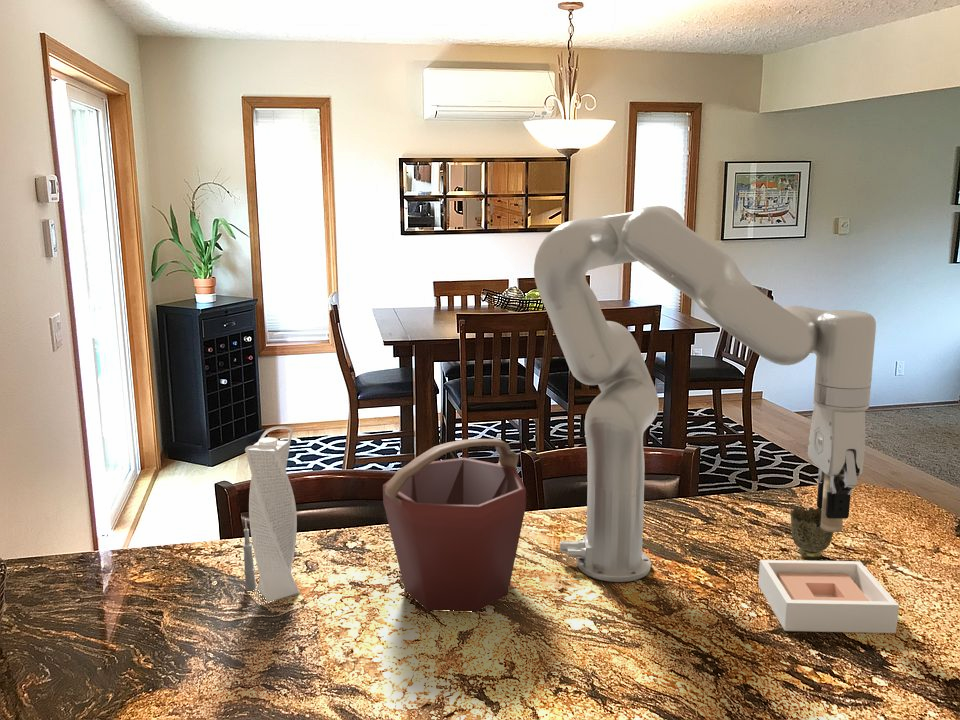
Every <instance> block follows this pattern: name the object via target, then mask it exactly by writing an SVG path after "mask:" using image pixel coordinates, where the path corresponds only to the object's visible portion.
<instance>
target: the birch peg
mask: <svg viewBox="0 0 960 720" xmlns="http://www.w3.org/2000/svg"><path fill="white" fill-rule="evenodd" d="M840 472H844V470H841V471H840ZM830 477H831V476H828V475H826V474H824V487H823V500H822V513H821V526H820V527H821V529H823V530H825V531H828V532H833V533H840V532H842V531H843V530H842V529H843V520H844V519H829V518H827V517H826V502H827V492H830ZM843 479H844V478H837V483H838V481H839V480H843Z"/></svg>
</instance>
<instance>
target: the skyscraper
mask: <svg viewBox="0 0 960 720" xmlns="http://www.w3.org/2000/svg"><path fill="white" fill-rule="evenodd" d="M275 430H289V435H288V438H287V440H278V438H277V437H274V436H269V437H268V436H266V435H267V434H268V433H269V432H270V433H271V432H272V431H275ZM294 431H295V429H294V428H293V427H292V426H287V425H277V426H272V427H269V428H267V429H265V431H264V432H263V433H262V434H261V436H260V437H259V439H258V441H257V442H255V443H254V444H253V445H248V446H246V447H245V448H244V451H245V454H246V458H247V463H248V465H249V466H248V467H249V471H250V474H251V479H250V484H249V494H248V518H249V528H250V529H249V528H248V522H247V519H246V518H245V519H244V529H243V533H244V543H243V544H242V549H243V558H244V559H243V560H244V565H243V566H244V570H243V572H244V580H245V581H244V582H245V583H244V584H245V585H244V588H245V590H246V591H245V590H244V591H245V593H246V592H247V591H252V592H256V595H258V598H262V597H264V599H263V598H262V600H261V599H260V601H261V602H265V601H267V603H268V602H270V601H273V600H274V601H275V600H278V601H280V600H279V599H281V600H283V599H282V598H285V599H287V598H286V597H288V598H291V597H293V595H294V596H297V595H296V594H298V595H300V594H301V592H300V590H299V587H298V586H297V583H296V581H295V580H294V577H293V574H292V568H293V564H294V557H295V552H296V542H297V533H298V532H297V527H298V522H297V521H298V520H297V519H298V517H297V506H296V500H295V495H294V490H293V487H292V484H291V481H290V479H289V476H288V473H287V464H288V460H289V453H290V448H291V442H292V441H291V440H292V437H293V435H294ZM265 436H266V437H265ZM249 533H250V534H249ZM250 536H251V542H250ZM253 555H254V557H253ZM254 559H255V563H256V567H257V571H258V575H259V579H258V587H257V588H256V586H257V582H256V575H255V570H256V569H255V568H256V567H255V566H254ZM255 589H257V590H256V591H255ZM253 590H254V591H253ZM258 590H259V591H260V593H259V591H258ZM257 592H258V594H257ZM299 593H300V594H299ZM249 594H250V592H249ZM251 594H253V593H251ZM254 594H255V593H254ZM259 594H262V596H261V595H260V597H259ZM256 595H255V597H257V596H256ZM290 596H291V597H290ZM251 597H252V596H251ZM251 597H250V598H251ZM253 597H254V595H253ZM265 598H266V599H265ZM253 600H254V599H253ZM253 600H252V601H253ZM255 600H256V598H255ZM264 600H265V601H264ZM256 601H257V600H256ZM258 601H259V599H258ZM261 602H260V603H261ZM275 602H276V601H275ZM263 604H264V603H263ZM258 605H260V604H259V603H258ZM258 605H257V606H258ZM261 605H262V604H261ZM265 605H267V604H266V602H265ZM262 606H263V605H262Z"/></svg>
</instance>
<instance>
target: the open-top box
mask: <svg viewBox="0 0 960 720" xmlns="http://www.w3.org/2000/svg"><path fill="white" fill-rule="evenodd" d="M778 573H818V574H848V575H849V577H850V578H851V579H852V580H853V581H854V583H855V584H856V585H857V586H858V588H859V589H860V590H861V591H862V592H863V594H864V595H865V596H866V597H867V598H868V600H869V601H834V600H791V598H790V596H789V595H788V593H787V592H786V590H785V589H784V587H783V586H782V584H781V582H780V581H779V579H778V578H777V576H778ZM757 585H758V587H759V589H760V591H761V592H762V594H763V597H764V598H765V599H766V601H767V602H768V605H769V607H770V608H771V609H772V612H773V614H774V615H775V617H776V618H777V620H778V622H779V624H780V626H781V627H782V629H783V630H784V631H785V632H820V633H821V632H823V633H824V632H825V633H833V632H834V633H865V634H866V633H868V634H869V633H874V634H897V628H898V627H897V626H898V619H899V610H900V609H899V608H900V605H899V603H898V602H897V601H896V600H895V599H894V598H893V597H892V595H891V594H890V593H889V592H888V590H886V588H885V587H884V585H882V584H881V583H880V582H879V581H878V579H877V578H876V577H875V576H874V575H873V573H871V572H870V570H868V568H867V567H866V566H865V565H864V564H863V563H862V561H860V560H859V561H857V560H854V561H853V560H850V561H849V560H805V559H803V560H799V559H798V560H796V559H795V560H793V559H791V560H790V559H787V560H786V559H785V560H784V559H760V560H759V568H758V584H757ZM814 596H815V597H834V595H814Z"/></svg>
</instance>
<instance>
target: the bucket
mask: <svg viewBox="0 0 960 720" xmlns="http://www.w3.org/2000/svg"><path fill="white" fill-rule="evenodd" d="M476 447H493V448H495V451H496V452H497V453H498V454H499V456H498V463H495V462H489V461H484V460H478V459H475V458H468V457H459V458H450V459H442V460H438V459H439V458H441V457H442V456H444V455H446V454H448V453H452V452H456V451H459V450H463V449H467V448H476ZM519 458H520V457H519V455H518V454H517V453H516V452H515V451H513V450H511V447H510V444H509V443H507V442H505V441H503V440H502V439H500V438H471V439H468V438H467V439H466V438H465V439H461V440H455V441H454V440H453V441H449V442H444V443H441V444H438V445H435V446H433V447H431V448H429V449H427V450H426V451H425V452H423V453H422V454H420V455H418V456H416V457H414V459H412V460H411V461H410V462H408V463H407V464H406V465H404V466H402V467H401V468H399V469H398V470H397V471H396V472H395V473H394V475H393V476H392V477H391V478H389V480H387V481H386V482H385V483H384V484H382V498H383V499H382V504H383V507H384V511H385V514H386V520H387V524H388V527H389V531H390V535H391V539H392V542H393V547H394V551H395V554H396V560H397V563H398V567H399V571H400V576H401V579H402V583H403V587H404V591H405V592H406V591H407V592H408V593H409V594H410V595H411V596H412V597H414V598H415V599H416V600H417V601H418V602H419V603H421V604H420V606H422V605H423V606H424V607H425V608H426V609H427V610H450V611H453V610H454V611H472V612H475V613H477V612H479V611H481V610H483V609H485V608H486V606H487V607H488V606H490V605H492V604H494V603H496V602H498V601H500V600H502V599H503V598H505V597H507V596H508V595H509V590H510V585H511V580H512V575H513V570H514V566H515V561H516V556H517V551H518V547H519V546H518V545H519V542H520V536H521V532H522V528H523V522H524V517H525V514H526V513H525V512H526V508H527V507H526V505H527V501H526V499H527V496H526V495H527V494H526V493H527V489H526V486H525V484H524V482H523V480H522V478H521V477H520V475H519V472H518V470H517V467H518V463H519ZM407 592H406V593H407ZM408 593H407V594H408ZM409 594H408V595H409ZM410 595H409V596H410ZM411 596H410V597H411ZM412 597H411V598H412ZM414 598H413V599H414ZM501 598H502V599H501ZM415 599H414V600H415ZM499 599H500V600H499ZM416 600H415V601H416ZM497 600H498V601H497ZM417 601H416V602H417ZM418 602H417V603H418ZM419 603H418V604H419ZM423 606H422V607H423ZM424 607H423V608H424ZM484 607H485V608H484ZM425 608H424V609H425ZM482 608H483V609H482ZM426 609H425V610H426ZM480 609H481V610H480ZM427 610H426V611H427ZM478 610H479V611H478ZM476 611H477V612H476Z"/></svg>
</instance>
